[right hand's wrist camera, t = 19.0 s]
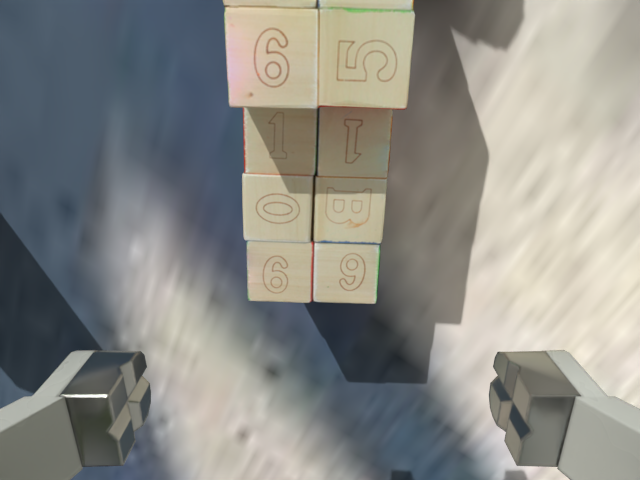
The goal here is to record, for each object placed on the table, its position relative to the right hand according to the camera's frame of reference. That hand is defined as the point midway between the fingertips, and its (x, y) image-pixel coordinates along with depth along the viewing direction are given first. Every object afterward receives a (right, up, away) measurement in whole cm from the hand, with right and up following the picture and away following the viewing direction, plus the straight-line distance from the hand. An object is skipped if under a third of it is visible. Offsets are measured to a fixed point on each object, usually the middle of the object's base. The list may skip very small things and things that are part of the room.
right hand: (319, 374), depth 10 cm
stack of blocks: (0, +13, +15) cm, 20 cm away
